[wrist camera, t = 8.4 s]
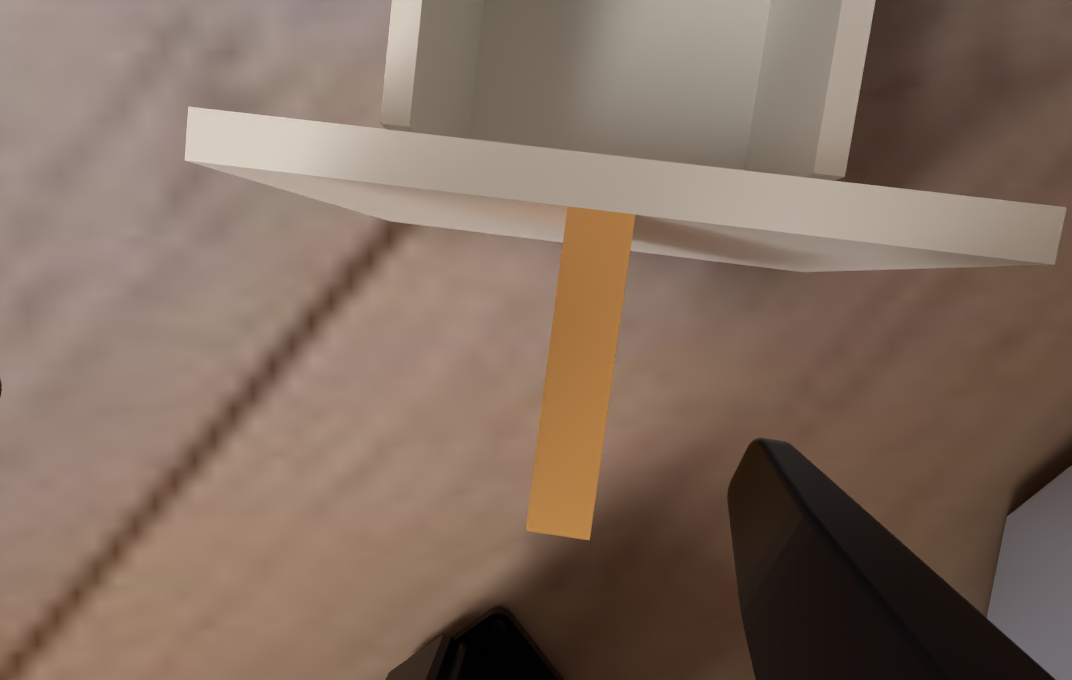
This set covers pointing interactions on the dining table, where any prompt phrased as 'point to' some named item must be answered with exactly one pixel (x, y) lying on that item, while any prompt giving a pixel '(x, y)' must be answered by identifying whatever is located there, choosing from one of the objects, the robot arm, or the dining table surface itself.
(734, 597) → the dining table surface
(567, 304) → the white drawer unit
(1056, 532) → the bottle
